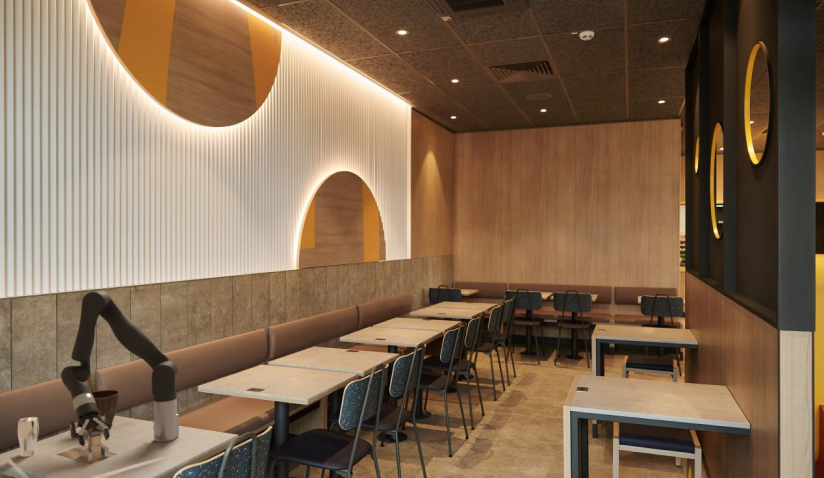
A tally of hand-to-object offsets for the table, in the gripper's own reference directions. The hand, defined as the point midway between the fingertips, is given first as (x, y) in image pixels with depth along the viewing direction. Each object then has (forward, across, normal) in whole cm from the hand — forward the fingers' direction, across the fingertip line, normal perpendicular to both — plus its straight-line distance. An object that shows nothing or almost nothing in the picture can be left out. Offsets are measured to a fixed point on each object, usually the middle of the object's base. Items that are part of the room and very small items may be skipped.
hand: (95, 441), depth 217 cm
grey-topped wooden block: (+3, 0, +5) cm, 6 cm away
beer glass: (-12, -17, +23) cm, 31 cm away
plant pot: (-22, +15, +32) cm, 42 cm away
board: (+1, -1, +9) cm, 10 cm away
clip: (+3, 0, +5) cm, 6 cm away
